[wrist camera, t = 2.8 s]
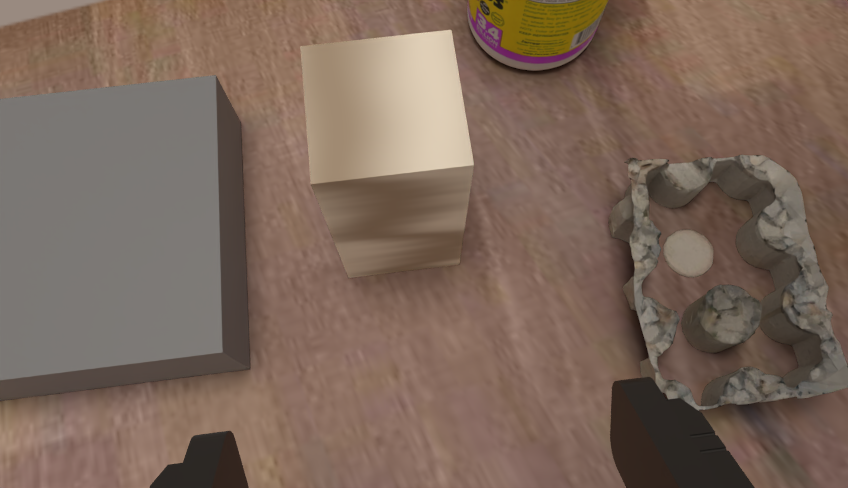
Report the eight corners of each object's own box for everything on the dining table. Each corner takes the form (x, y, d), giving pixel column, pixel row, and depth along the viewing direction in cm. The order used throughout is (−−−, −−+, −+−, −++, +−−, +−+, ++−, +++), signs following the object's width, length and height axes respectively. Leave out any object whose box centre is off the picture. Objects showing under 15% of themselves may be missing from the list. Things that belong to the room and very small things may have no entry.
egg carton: (596, 187, 31) (620, 145, 27) (754, 178, 31) (799, 135, 27) (633, 419, 28) (667, 408, 24) (811, 408, 28) (873, 396, 24)
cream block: (444, 164, 31) (451, 30, 22) (459, 264, 30) (474, 164, 20) (339, 177, 31) (300, 46, 22) (348, 278, 29) (310, 184, 20)
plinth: (240, 122, 32) (215, 75, 28) (250, 369, 28) (222, 352, 24) (-11, 150, 32) (-70, 106, 28) (-37, 405, 28) (-111, 394, 24)
